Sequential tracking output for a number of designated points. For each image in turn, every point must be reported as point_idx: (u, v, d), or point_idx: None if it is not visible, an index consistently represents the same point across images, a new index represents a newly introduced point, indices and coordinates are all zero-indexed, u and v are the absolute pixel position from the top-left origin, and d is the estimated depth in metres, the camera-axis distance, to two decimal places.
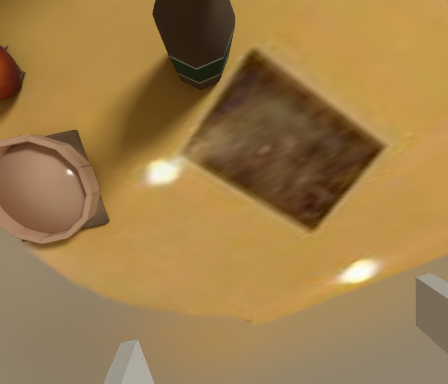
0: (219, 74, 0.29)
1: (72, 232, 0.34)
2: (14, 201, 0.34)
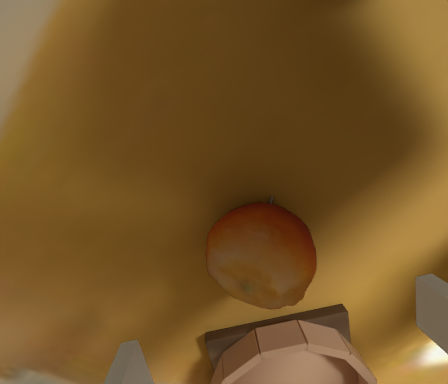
0: None
1: None
2: None
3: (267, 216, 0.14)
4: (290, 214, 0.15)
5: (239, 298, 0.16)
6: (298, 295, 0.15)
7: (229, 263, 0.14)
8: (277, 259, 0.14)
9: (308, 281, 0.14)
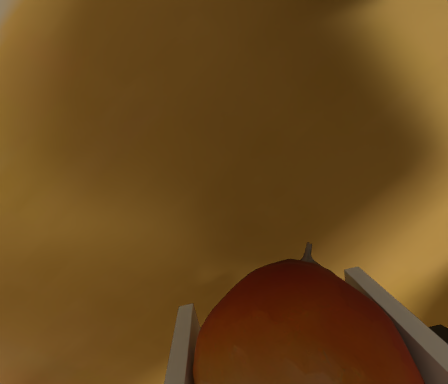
0: None
1: None
2: None
3: (329, 322, 0.06)
4: (367, 305, 0.07)
5: None
6: None
7: None
8: None
9: None
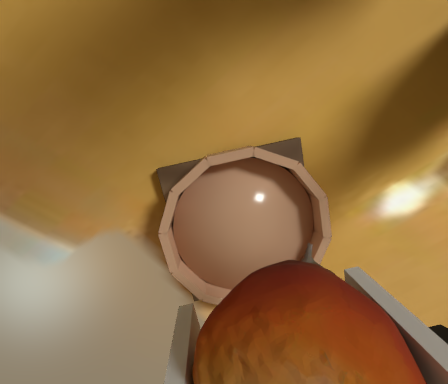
0: None
1: None
2: (199, 246, 0.23)
3: (330, 324, 0.06)
4: (369, 307, 0.07)
5: None
6: None
7: None
8: None
9: None
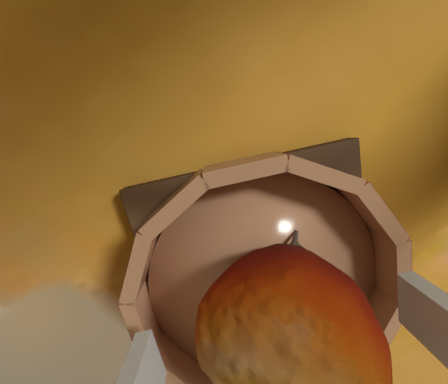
0: None
1: None
2: (191, 312, 0.14)
3: (306, 286, 0.08)
4: (340, 276, 0.09)
5: None
6: None
7: (236, 376, 0.08)
8: (330, 380, 0.07)
9: None
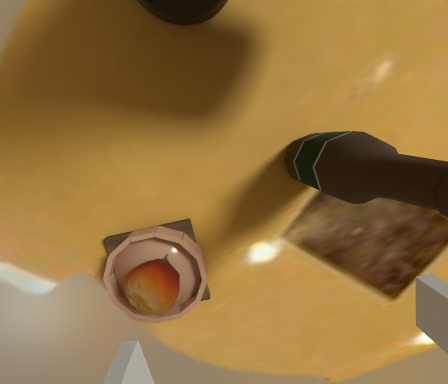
0: None
1: (185, 312, 0.37)
2: None
3: (149, 271, 0.31)
4: (163, 269, 0.32)
5: (139, 309, 0.32)
6: (164, 308, 0.31)
7: (130, 293, 0.31)
8: (149, 292, 0.30)
9: (166, 302, 0.31)
